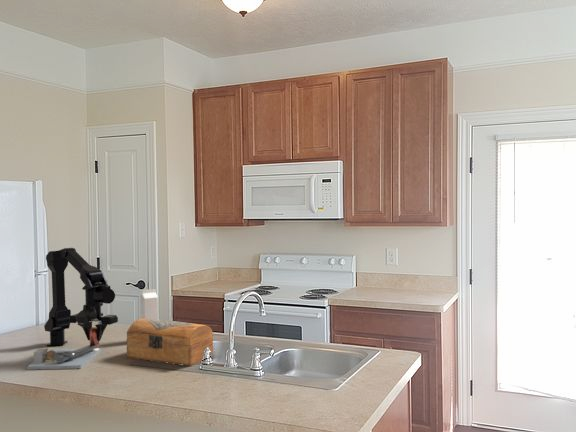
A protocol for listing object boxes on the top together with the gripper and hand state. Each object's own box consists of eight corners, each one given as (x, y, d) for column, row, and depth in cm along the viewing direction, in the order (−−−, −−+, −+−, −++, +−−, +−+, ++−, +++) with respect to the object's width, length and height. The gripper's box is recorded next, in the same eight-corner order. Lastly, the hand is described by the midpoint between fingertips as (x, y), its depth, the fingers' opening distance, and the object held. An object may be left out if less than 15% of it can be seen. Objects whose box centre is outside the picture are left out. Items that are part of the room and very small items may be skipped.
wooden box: (124, 359, 214) (123, 322, 213) (152, 348, 228) (152, 315, 228) (187, 368, 200) (187, 330, 200) (213, 357, 215) (213, 321, 214)
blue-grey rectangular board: (52, 352, 224) (52, 339, 224) (101, 351, 225) (100, 338, 225) (27, 369, 200) (26, 355, 200) (81, 368, 201) (81, 354, 201)
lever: (54, 360, 203) (53, 339, 203) (91, 345, 224) (91, 326, 224) (65, 361, 202) (64, 340, 202) (102, 346, 223) (101, 327, 223)
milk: (140, 339, 243) (139, 289, 243) (154, 337, 246) (153, 288, 246) (145, 342, 238) (143, 291, 238) (159, 340, 241) (157, 289, 241)
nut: (48, 358, 209) (48, 349, 209) (57, 358, 209) (57, 349, 209) (44, 361, 205) (44, 351, 205) (54, 361, 205) (54, 351, 205)
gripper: (59, 304, 216) (60, 344, 217) (101, 305, 211) (102, 346, 211) (77, 299, 227) (78, 337, 227) (118, 300, 222) (119, 339, 222)
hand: (94, 340), depth 222 cm, fingers open, 4 cm apart
